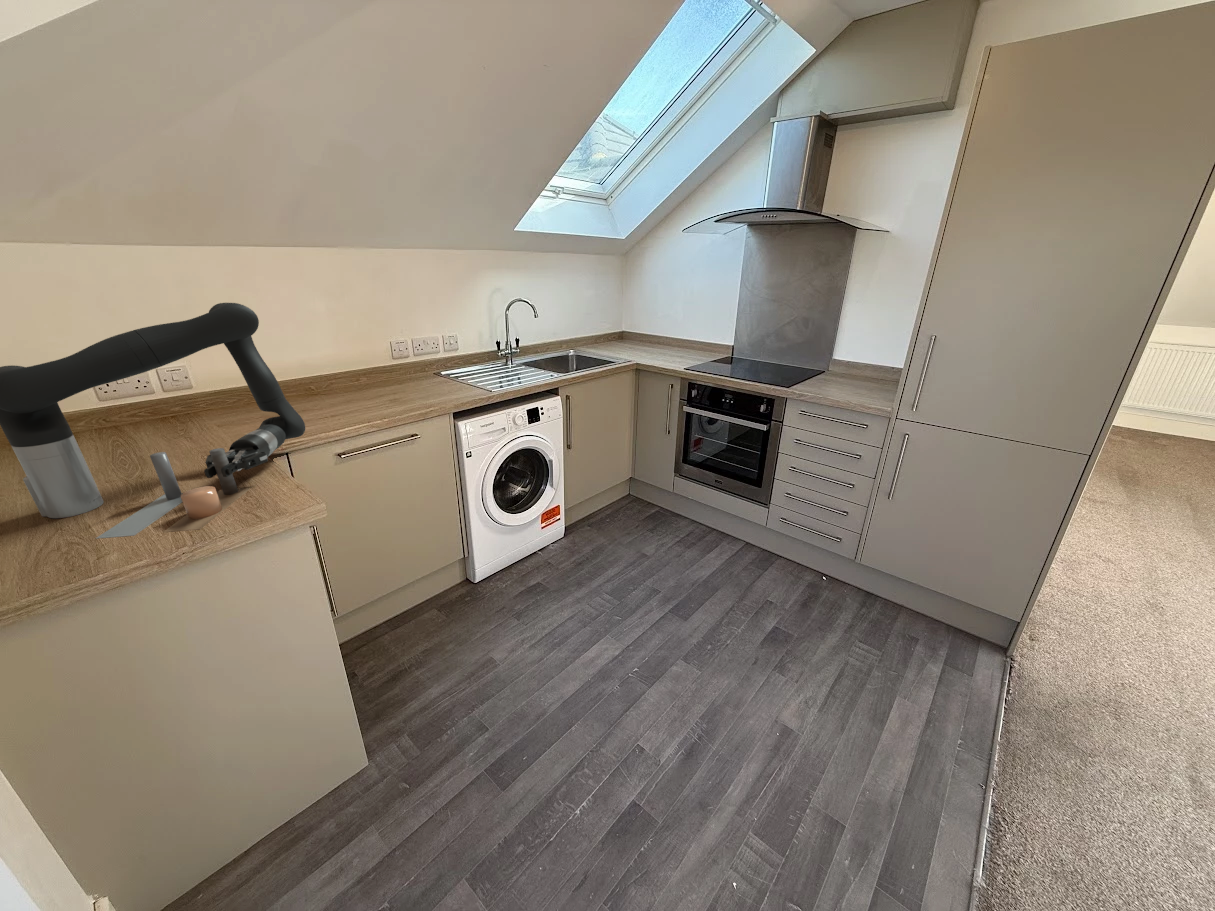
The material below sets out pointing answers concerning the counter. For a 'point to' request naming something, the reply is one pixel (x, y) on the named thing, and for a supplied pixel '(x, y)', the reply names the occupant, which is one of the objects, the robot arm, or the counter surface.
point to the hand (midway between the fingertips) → (215, 473)
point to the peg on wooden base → (225, 495)
